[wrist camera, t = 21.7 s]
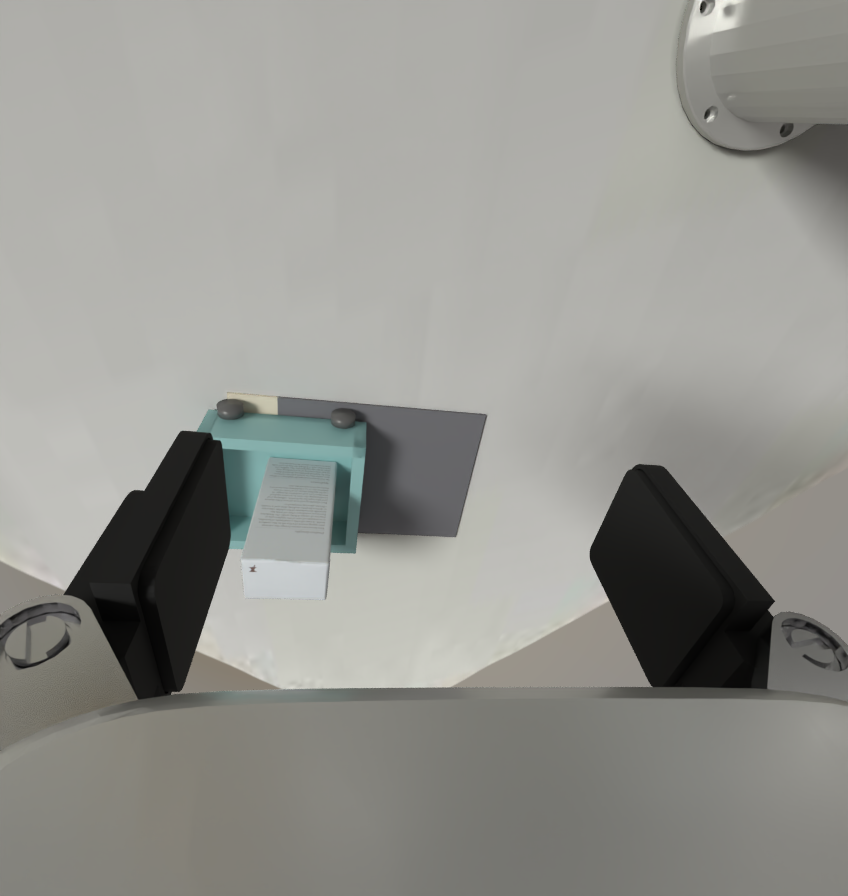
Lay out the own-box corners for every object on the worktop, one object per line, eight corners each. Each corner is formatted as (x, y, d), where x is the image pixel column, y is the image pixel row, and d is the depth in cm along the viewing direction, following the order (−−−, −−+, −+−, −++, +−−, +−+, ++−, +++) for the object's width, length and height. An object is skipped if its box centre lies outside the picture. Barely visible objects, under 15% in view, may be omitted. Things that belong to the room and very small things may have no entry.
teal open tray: (367, 410, 42) (367, 435, 38) (355, 532, 50) (354, 562, 46) (207, 396, 40) (192, 422, 36) (221, 526, 48) (210, 557, 44)
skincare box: (269, 492, 45) (240, 600, 35) (268, 455, 42) (237, 558, 33) (336, 497, 46) (326, 602, 36) (339, 460, 43) (329, 562, 34)
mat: (485, 414, 44) (486, 415, 43) (455, 535, 52) (455, 537, 52) (227, 392, 40) (227, 393, 40) (239, 525, 48) (238, 527, 48)
